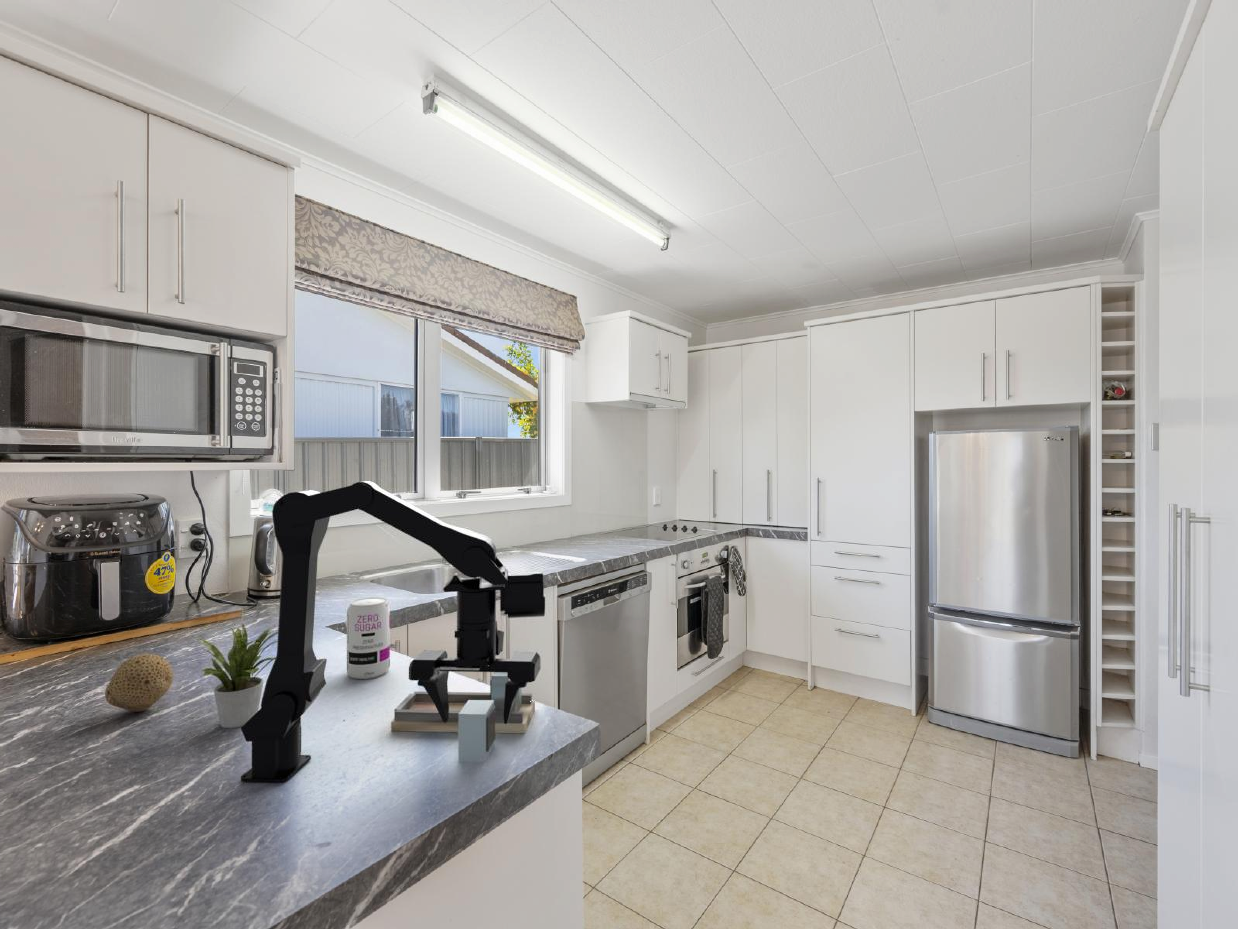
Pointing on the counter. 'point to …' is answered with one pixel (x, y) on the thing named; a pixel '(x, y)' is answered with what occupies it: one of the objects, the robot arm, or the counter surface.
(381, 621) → the supplement can
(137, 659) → the natural sponge
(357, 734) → the counter surface
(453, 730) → the rail plate
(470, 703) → the block
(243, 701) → the house plant
